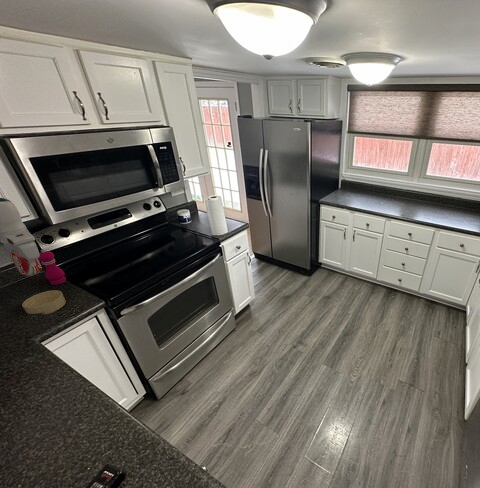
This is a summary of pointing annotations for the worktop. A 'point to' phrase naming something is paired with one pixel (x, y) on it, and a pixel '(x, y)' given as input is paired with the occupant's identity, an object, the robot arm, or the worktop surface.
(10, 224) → the robot arm
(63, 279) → the pepper mill
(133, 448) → the worktop surface
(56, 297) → the beige oval piece
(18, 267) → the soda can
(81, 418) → the worktop surface
